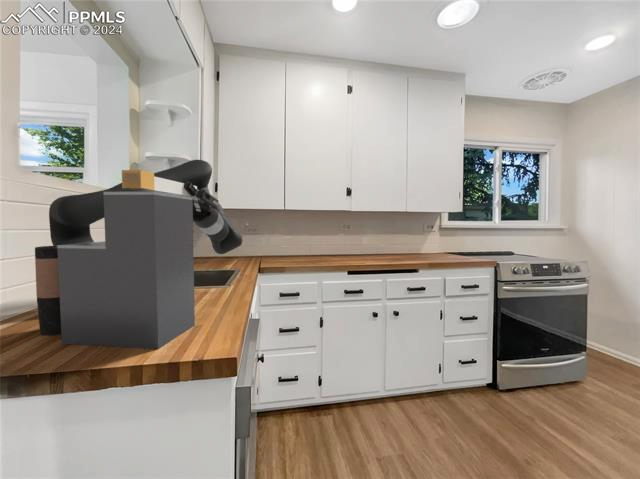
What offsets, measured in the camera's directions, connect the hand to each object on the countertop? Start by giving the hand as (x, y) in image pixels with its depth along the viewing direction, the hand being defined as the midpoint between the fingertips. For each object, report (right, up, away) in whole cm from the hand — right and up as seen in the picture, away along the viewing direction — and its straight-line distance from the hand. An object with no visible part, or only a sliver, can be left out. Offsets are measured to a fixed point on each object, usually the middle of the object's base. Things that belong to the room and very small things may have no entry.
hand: (178, 183), depth 75 cm
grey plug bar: (-1, -3, -5) cm, 6 cm away
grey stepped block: (-7, -36, -7) cm, 38 cm away
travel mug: (-26, -36, -5) cm, 45 cm away
